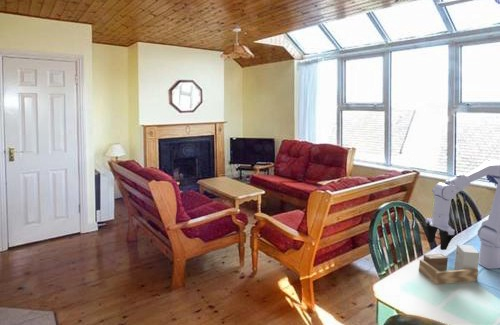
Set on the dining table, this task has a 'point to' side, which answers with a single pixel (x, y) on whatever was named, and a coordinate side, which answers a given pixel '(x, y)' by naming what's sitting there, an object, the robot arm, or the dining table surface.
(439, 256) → the brown rectangular block
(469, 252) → the small box
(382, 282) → the dining table surface
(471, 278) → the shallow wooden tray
